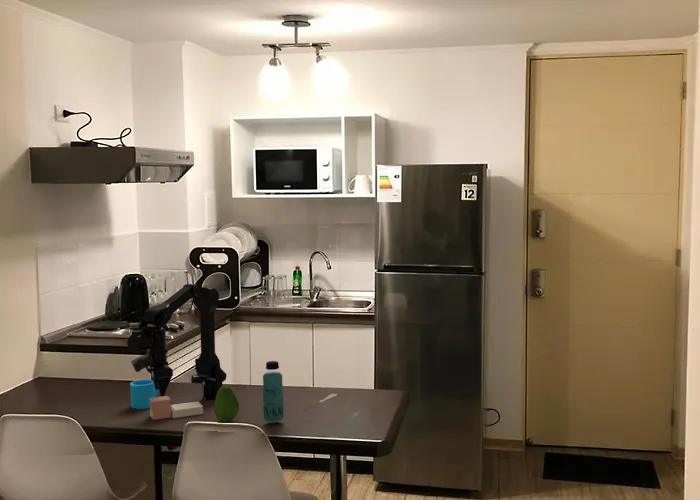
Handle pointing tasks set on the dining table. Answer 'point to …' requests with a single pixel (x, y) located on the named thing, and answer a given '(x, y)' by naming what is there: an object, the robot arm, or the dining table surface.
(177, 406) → the slab
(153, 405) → the tan cube
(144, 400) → the mug
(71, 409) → the dining table surface
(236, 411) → the avocado
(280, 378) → the beverage bottle
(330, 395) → the butter knife
